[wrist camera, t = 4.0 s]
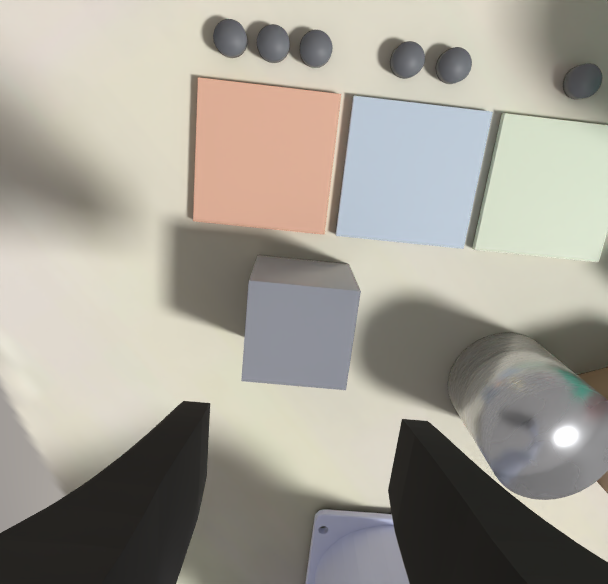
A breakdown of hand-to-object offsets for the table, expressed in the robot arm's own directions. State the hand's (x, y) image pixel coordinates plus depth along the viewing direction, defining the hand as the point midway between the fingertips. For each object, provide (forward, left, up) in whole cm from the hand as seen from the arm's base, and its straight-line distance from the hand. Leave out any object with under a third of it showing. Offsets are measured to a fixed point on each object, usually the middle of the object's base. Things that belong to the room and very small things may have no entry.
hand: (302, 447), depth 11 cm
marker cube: (0, 0, -10) cm, 10 cm away
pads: (+7, -4, -10) cm, 13 cm away
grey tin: (-3, -10, -10) cm, 15 cm away
